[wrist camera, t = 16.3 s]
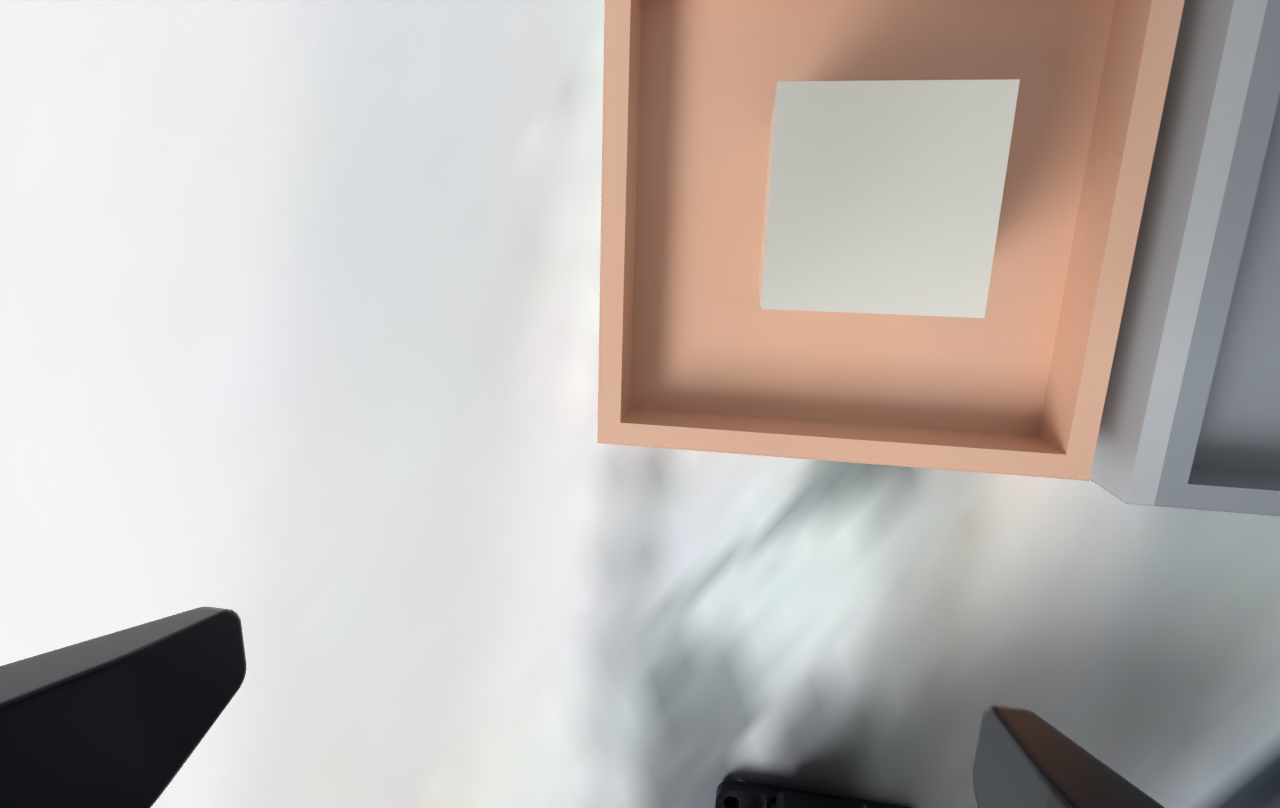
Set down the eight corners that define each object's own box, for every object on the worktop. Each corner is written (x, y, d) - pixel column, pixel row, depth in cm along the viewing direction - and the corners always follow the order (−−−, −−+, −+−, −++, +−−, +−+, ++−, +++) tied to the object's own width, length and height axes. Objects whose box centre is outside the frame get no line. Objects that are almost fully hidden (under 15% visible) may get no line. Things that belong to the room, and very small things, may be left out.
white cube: (924, 301, 17) (984, 318, 13) (758, 294, 18) (761, 309, 13) (946, 125, 16) (1019, 79, 12) (770, 125, 17) (777, 81, 12)
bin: (1048, 453, 18) (1089, 480, 16) (614, 422, 20) (597, 442, 18) (1140, -48, 15) (1203, -97, 13) (623, -32, 17) (605, -72, 15)
